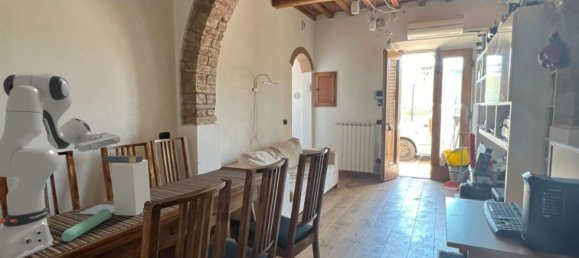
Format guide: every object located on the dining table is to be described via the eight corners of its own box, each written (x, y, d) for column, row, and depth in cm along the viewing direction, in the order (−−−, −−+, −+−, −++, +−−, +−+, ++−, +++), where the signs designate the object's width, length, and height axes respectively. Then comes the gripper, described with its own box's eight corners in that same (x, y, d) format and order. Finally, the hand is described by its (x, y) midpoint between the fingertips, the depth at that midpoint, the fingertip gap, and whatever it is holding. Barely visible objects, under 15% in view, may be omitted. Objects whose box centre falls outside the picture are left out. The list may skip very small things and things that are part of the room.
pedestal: (136, 215, 150) (132, 164, 148) (114, 214, 151) (110, 164, 149) (150, 207, 162) (147, 159, 159) (130, 206, 163) (127, 159, 161)
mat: (109, 215, 151) (109, 214, 151) (78, 214, 153) (78, 213, 153) (128, 206, 165) (128, 205, 165) (99, 205, 167) (99, 204, 167)
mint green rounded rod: (67, 228, 120) (108, 206, 145) (55, 234, 121) (97, 211, 146) (74, 241, 121) (113, 217, 146) (62, 247, 121) (103, 221, 146)
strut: (138, 162, 152) (137, 156, 151) (102, 162, 155) (102, 156, 154) (143, 161, 156) (142, 155, 155) (108, 161, 158) (108, 155, 158)
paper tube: (27, 229, 136) (22, 174, 134) (44, 223, 143) (39, 171, 141) (38, 230, 134) (32, 175, 132) (54, 224, 140) (49, 172, 138)
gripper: (70, 141, 154) (85, 143, 147) (110, 132, 171) (125, 134, 164) (73, 153, 155) (87, 156, 148) (112, 142, 172) (127, 145, 165)
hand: (107, 144), depth 156 cm, fingers open, 8 cm apart
